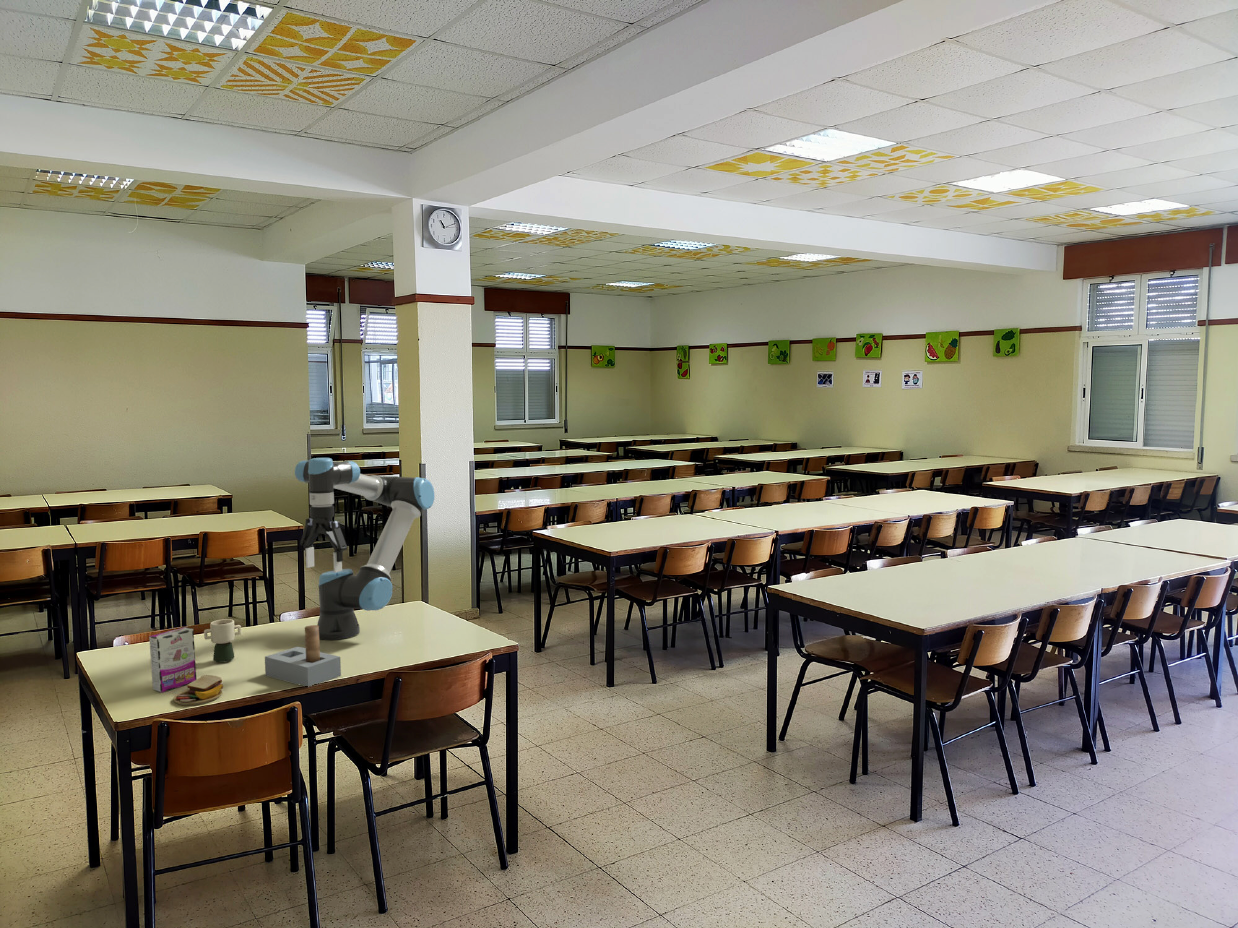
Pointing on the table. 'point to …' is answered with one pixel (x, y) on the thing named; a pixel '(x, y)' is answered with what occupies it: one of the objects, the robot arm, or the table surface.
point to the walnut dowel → (312, 643)
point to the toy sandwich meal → (201, 691)
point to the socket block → (302, 667)
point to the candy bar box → (172, 659)
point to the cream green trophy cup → (222, 638)
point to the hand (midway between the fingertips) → (324, 569)
